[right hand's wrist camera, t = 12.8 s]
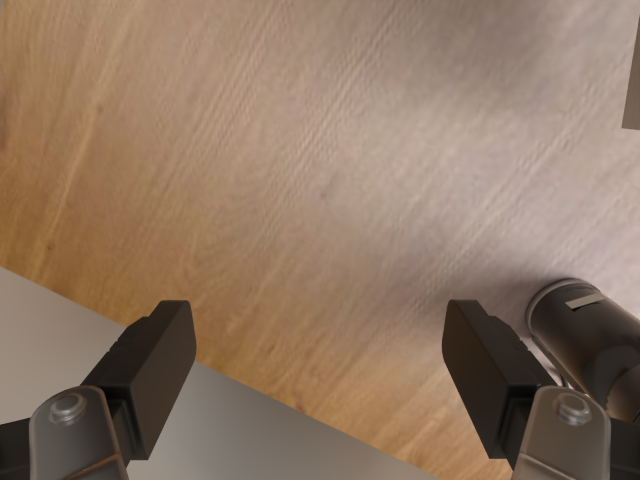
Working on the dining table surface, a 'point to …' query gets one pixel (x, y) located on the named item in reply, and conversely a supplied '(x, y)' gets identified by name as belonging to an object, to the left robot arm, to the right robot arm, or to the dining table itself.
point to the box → (633, 90)
